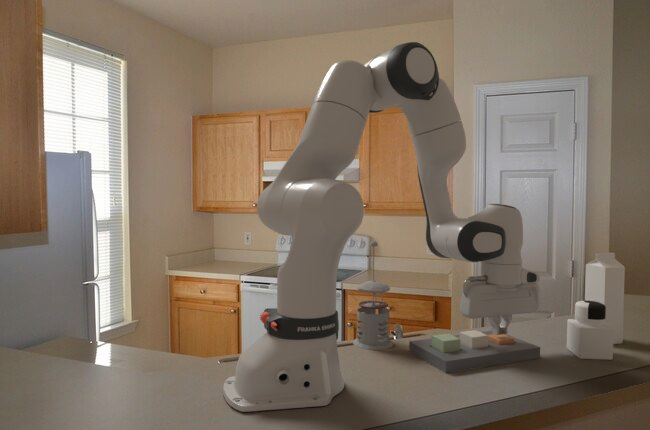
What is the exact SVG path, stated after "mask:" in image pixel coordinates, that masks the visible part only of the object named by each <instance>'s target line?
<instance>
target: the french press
mask: <svg viewBox="0 0 650 430" xmlns="http://www.w3.org/2000/svg"><path fill="white" fill-rule="evenodd" d="M369 246H370V247H372V255H373V257H372V280H368V281H365V282H362V283H360V284H359V285H357V287H356V289H357V290H359V291H360V292H364V293H370V294H371V293H372V300H363V301H362V300H361V301H360V302H359V303H358V306H359V308H357V314H356V316H357V318H356V320H357V323H356V324H357V325H356V327H357V328H356V331H357V333H356V338H355V339H354V340H353V342H352V344H353V345H354V346H355V347H356V348H360V349H362V350H363V349H364V350H368V351H370V350H371V351H380V350H387V349H390V348H392V347H393V346H394V342H393V341H392V340H391V339H390V309H388V308H387V307H388V306H389V304H388V303H387V302H385V301H383V300H384V296H383V293H386V292H390V290H391V287H390V286H389V285H388V284H386V283H384V282H381V281H379V280H375V247H378V242H377V241H376V240H373V241H371V242H369ZM378 293H379V294H378ZM380 296H381V300H377V297H380Z"/></svg>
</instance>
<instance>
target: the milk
mask: <svg viewBox="0 0 650 430" xmlns="http://www.w3.org/2000/svg"><path fill="white" fill-rule="evenodd" d="M625 273H626V267H625V266H624V265H623V264H622V263H621V262H620V261H619V260H617V259H616V252H597V253H595V259H594V260H592V261H590V262H587V263H586V264H585V276H584V277H585V278H584V279H585V281H584V282H585V283H584V284H585V285H584V301H595V302H599V303H602V304H603V305H605V307H606V316H605V322H604V323H605V324H606V325H608V326H610V327H612V328H613V329H614V335H613V345H618V344H623V341H624V340H623V338H624V337H623V336H624V333H623V332H624V311H625V310H624V309H625V308H624V305H625V303H624V302H625V279H626V278H625V277H626V276H625V275H626V274H625Z"/></svg>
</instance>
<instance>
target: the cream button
mask: <svg viewBox="0 0 650 430" xmlns="http://www.w3.org/2000/svg"><path fill="white" fill-rule="evenodd" d="M481 332H482V331H478V330H476V329H474V330H473V329H472V330H466V331H464V330H463V331H460V332H459V335H460V337H459V339H460V344H462V345H464V346H466V347H468V348H470V349H476V348H483V347H488V335H486V334H483V333H481Z"/></svg>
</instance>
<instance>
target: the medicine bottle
mask: <svg viewBox="0 0 650 430" xmlns="http://www.w3.org/2000/svg"><path fill="white" fill-rule="evenodd" d="M605 316H606V307H605V305H603V304H602V303H599V302H595V301H585V300H579V301H577V302H576V303H575V305H574V318H568V319H567V324H566V325H567V326H566V327H567V328H566V349H567V350H569V351H570V353H572V354H573V355H574V356H576V357H577V358H578V359H581V360H583V359H584V360H603V361H604V360H605V361H607V360H608V361H612V360H613V358H614V344H613V335H614V329H613V328H612V327H610V326H608V325H606V324H605V323H604V322H605Z"/></svg>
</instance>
